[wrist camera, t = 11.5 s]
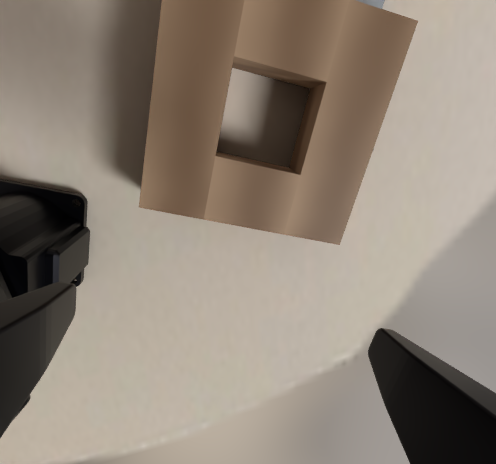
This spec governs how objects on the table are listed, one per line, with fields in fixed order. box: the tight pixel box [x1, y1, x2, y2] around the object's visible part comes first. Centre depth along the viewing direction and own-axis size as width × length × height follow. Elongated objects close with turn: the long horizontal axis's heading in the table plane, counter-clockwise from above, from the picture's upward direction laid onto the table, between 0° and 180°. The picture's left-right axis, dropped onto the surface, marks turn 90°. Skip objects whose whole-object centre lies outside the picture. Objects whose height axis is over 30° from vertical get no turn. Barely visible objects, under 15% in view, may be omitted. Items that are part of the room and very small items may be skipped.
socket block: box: [139, 0, 418, 245], centre depth 17 cm, size 12×12×3 cm
